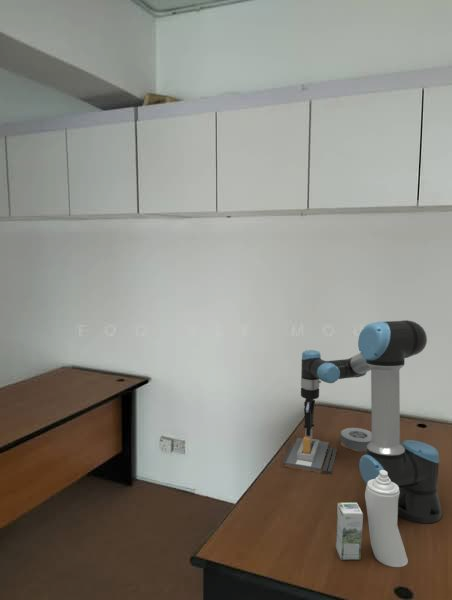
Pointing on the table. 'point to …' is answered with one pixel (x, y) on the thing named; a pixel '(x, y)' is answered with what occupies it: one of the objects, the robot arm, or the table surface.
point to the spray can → (384, 520)
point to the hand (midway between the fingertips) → (308, 441)
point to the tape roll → (356, 438)
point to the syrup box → (349, 531)
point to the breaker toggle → (307, 445)
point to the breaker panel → (317, 459)
